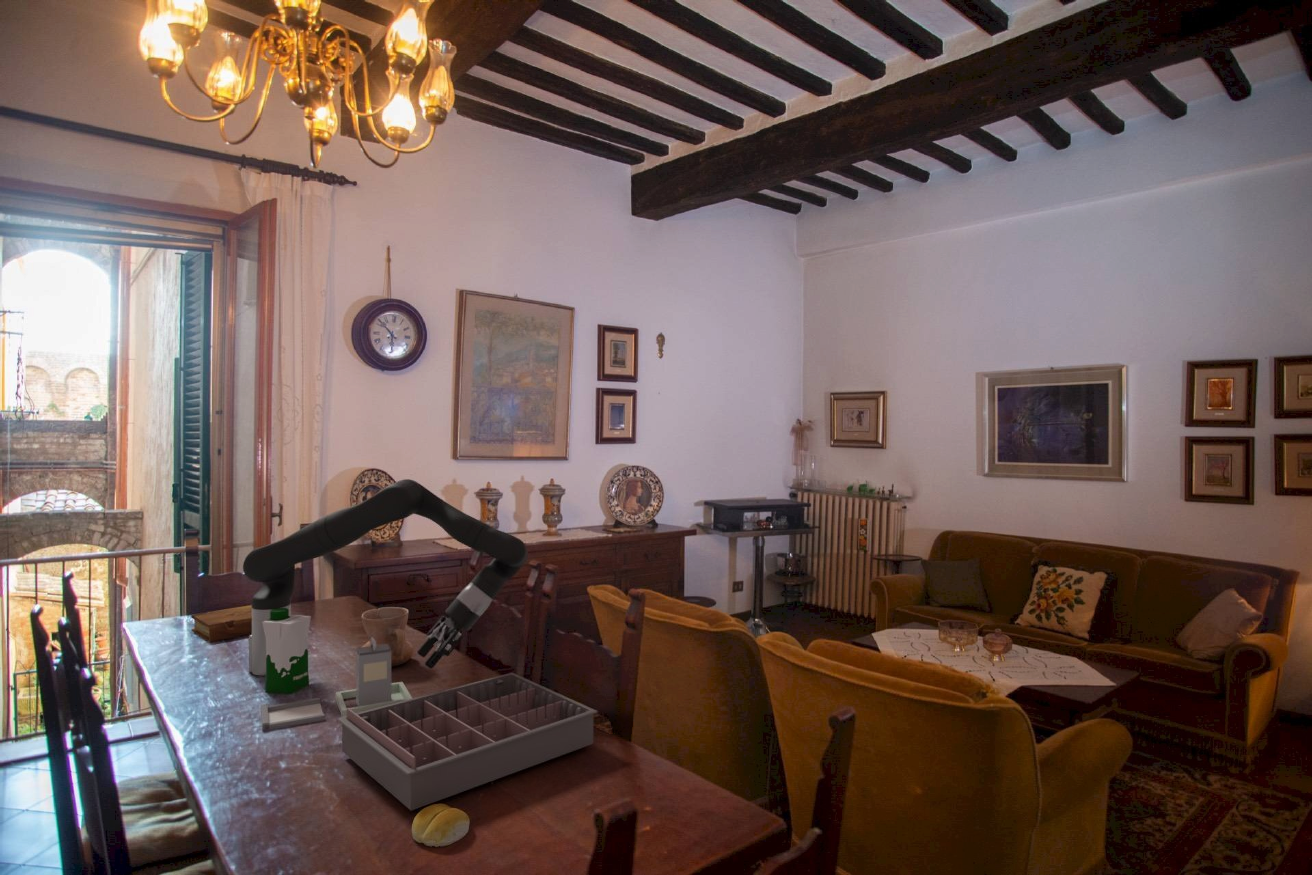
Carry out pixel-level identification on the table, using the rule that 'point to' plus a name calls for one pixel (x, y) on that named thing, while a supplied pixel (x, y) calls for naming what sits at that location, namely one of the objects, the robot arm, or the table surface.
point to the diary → (223, 623)
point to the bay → (291, 714)
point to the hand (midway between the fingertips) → (423, 660)
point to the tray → (397, 695)
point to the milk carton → (286, 651)
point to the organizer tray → (464, 736)
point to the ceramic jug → (389, 631)
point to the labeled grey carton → (373, 674)
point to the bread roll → (440, 825)
